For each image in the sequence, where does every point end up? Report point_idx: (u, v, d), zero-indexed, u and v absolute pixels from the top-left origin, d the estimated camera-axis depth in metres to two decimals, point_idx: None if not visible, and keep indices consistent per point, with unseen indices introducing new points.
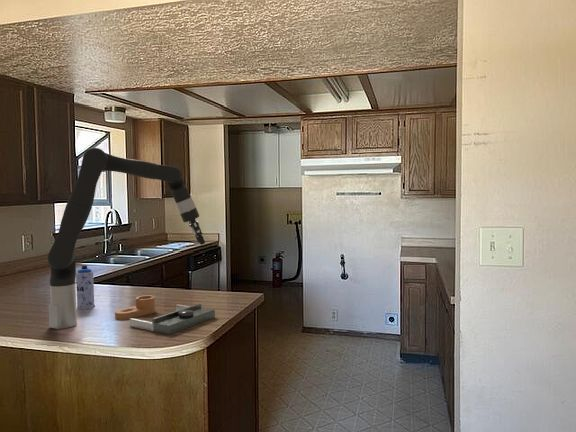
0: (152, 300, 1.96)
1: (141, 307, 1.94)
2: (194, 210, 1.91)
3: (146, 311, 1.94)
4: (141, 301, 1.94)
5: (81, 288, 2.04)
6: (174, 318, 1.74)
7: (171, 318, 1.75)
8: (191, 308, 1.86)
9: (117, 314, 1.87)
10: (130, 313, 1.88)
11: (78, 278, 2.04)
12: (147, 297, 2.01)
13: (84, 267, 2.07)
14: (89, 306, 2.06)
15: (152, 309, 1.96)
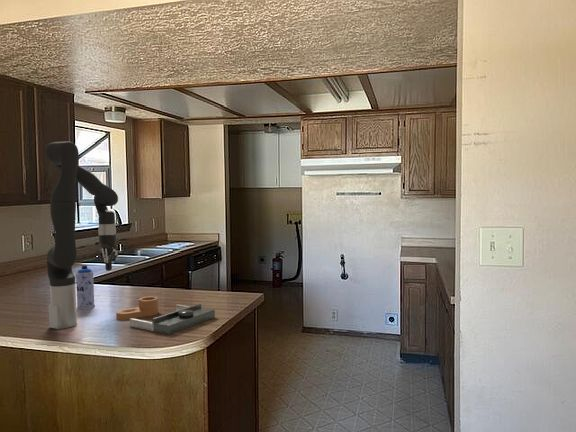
0: (154, 302, 1.93)
1: (142, 308, 1.92)
2: (115, 236, 2.02)
3: (147, 313, 1.91)
4: (142, 302, 1.91)
5: (82, 288, 2.04)
6: (174, 318, 1.74)
7: (171, 318, 1.75)
8: (191, 308, 1.86)
9: (117, 314, 1.87)
10: (129, 314, 1.87)
11: (78, 278, 2.04)
12: (152, 298, 1.98)
13: (84, 267, 2.07)
14: (89, 306, 2.06)
15: (154, 311, 1.93)
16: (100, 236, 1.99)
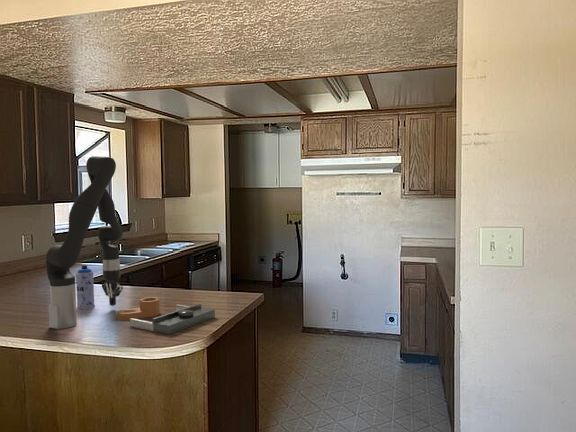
0: (154, 303, 1.91)
1: (142, 309, 1.90)
2: (119, 270, 2.02)
3: (146, 314, 1.89)
4: (142, 303, 1.90)
5: (81, 288, 2.04)
6: (174, 318, 1.74)
7: (171, 318, 1.75)
8: (191, 308, 1.86)
9: (117, 314, 1.87)
10: (128, 314, 1.86)
11: (78, 278, 2.04)
12: (153, 299, 1.96)
13: (84, 267, 2.07)
14: (89, 306, 2.06)
15: (154, 312, 1.91)
16: (104, 271, 1.99)
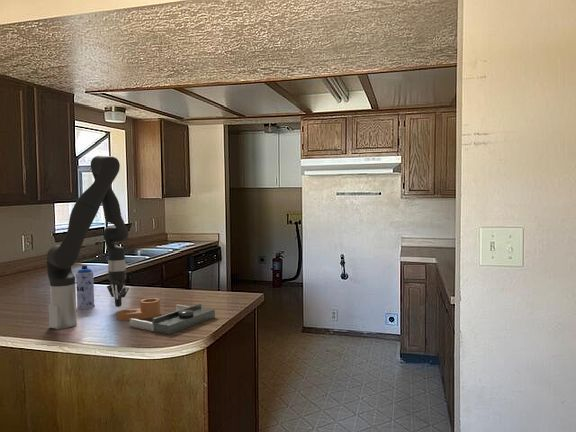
0: (153, 304, 1.89)
1: (142, 310, 1.89)
2: (125, 271, 2.00)
3: (146, 315, 1.88)
4: (142, 304, 1.89)
5: (82, 288, 2.04)
6: (174, 318, 1.74)
7: (171, 318, 1.75)
8: (191, 308, 1.86)
9: (117, 314, 1.87)
10: (127, 315, 1.85)
11: (78, 278, 2.04)
12: (155, 300, 1.95)
13: (84, 267, 2.07)
14: (89, 306, 2.06)
15: (153, 313, 1.89)
16: (110, 272, 1.96)
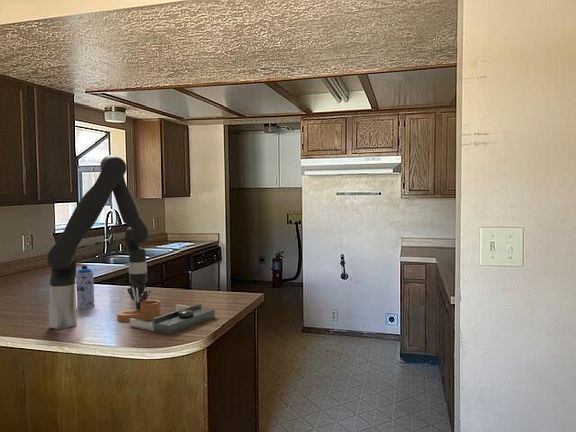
0: (152, 307, 1.85)
1: (141, 312, 1.86)
2: (146, 274, 1.93)
3: (144, 317, 1.84)
4: (141, 305, 1.86)
5: (81, 288, 2.04)
6: (174, 318, 1.74)
7: (171, 318, 1.75)
8: (191, 308, 1.86)
9: (117, 315, 1.86)
10: (126, 316, 1.84)
11: (78, 278, 2.04)
12: (156, 302, 1.91)
13: (84, 267, 2.07)
14: (89, 306, 2.06)
15: (151, 316, 1.85)
16: (131, 275, 1.89)
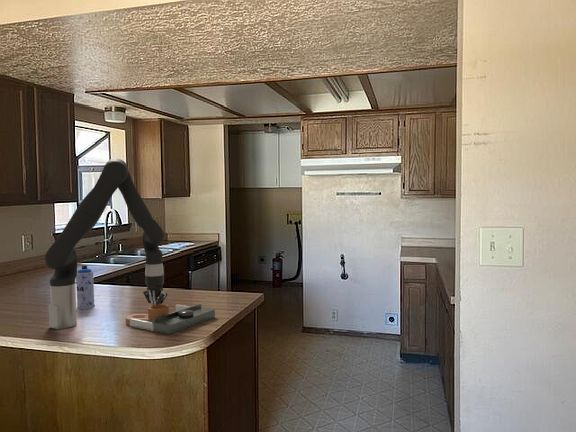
0: (158, 312, 1.77)
1: (148, 316, 1.79)
2: (163, 276, 1.87)
3: None
4: (148, 310, 1.78)
5: (81, 288, 2.04)
6: (174, 318, 1.74)
7: (171, 318, 1.75)
8: (191, 308, 1.86)
9: None
10: None
11: (78, 278, 2.04)
12: (165, 307, 1.83)
13: (84, 267, 2.07)
14: (89, 306, 2.06)
15: None
16: (147, 277, 1.84)
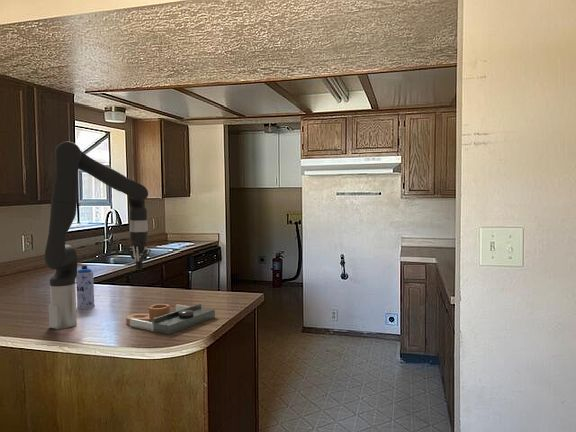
0: (160, 311, 1.78)
1: (149, 316, 1.79)
2: (147, 233, 1.91)
3: (151, 321, 1.78)
4: (149, 309, 1.79)
5: (81, 288, 2.04)
6: (174, 318, 1.74)
7: (171, 318, 1.75)
8: (191, 308, 1.86)
9: (126, 318, 1.81)
10: None
11: (78, 278, 2.04)
12: (165, 306, 1.83)
13: (84, 267, 2.07)
14: (89, 306, 2.06)
15: None
16: (131, 233, 1.87)
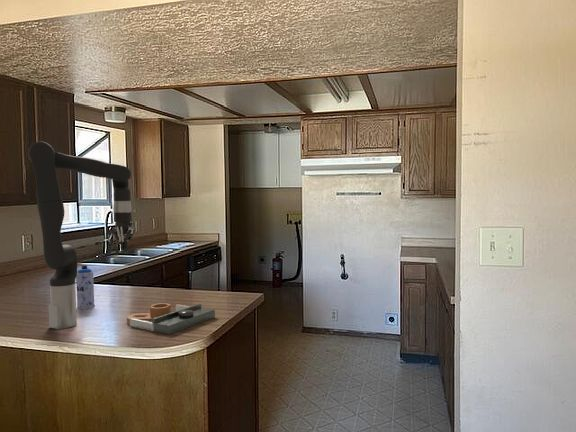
0: (161, 310, 1.79)
1: (150, 315, 1.80)
2: (131, 213, 1.93)
3: None
4: (150, 309, 1.80)
5: (82, 288, 2.04)
6: (174, 318, 1.74)
7: (171, 318, 1.75)
8: (191, 308, 1.86)
9: None
10: None
11: (78, 278, 2.04)
12: (166, 306, 1.84)
13: (84, 267, 2.07)
14: (89, 306, 2.06)
15: None
16: (115, 213, 1.89)
